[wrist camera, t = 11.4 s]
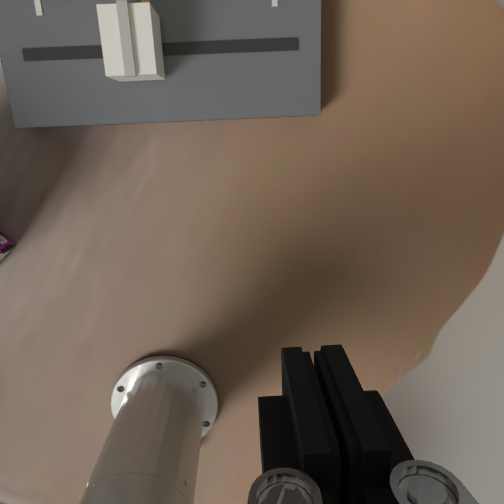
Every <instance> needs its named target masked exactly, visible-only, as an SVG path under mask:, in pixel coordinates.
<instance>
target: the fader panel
mask: <svg viewBox="0 0 504 504" xmlns="http://www.w3.org/2000/svg"><path fill="white" fill-rule="evenodd" d="M127 1H128V2H129V3H144V2H150V4H151V5H152V7H153V8H154V9H155V11H156V12H157V14H158V15H159V19H160V30H161V40H162V51H163V61H164V72H165V80H145V81H121V82H120V81H117V80H114V79H112V78H109V77H107V76H106V75H105V67H104V60H103V52H102V45H101V37H100V30H99V22H98V15H97V7H96V4H116V0H0V57H1V62H2V67H3V72H4V77H5V82H6V87H7V92H8V97H9V102H10V107H11V112H12V117H13V122H14V127H15V128H44V127H67V126H89V125H112V124H135V123H158V122H181V121H204V120H227V119H250V118H273V117H296V116H316V115H320V112H321V0H127Z"/></svg>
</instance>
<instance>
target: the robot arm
mask: <svg viewBox="0 0 504 504" xmlns="http://www.w3.org/2000/svg"><path fill="white" fill-rule="evenodd" d="M281 359H282V396H266V397H258V407H259V429H260V447H261V462H262V475H260V476H259V477H257V479H256V480H255V481H254V483H253V484H252V486H251V489H250V492H249V496H248V502H247V504H479V503H478V502H477V501H476V500H475V498H474V497H473V496H472V495H471V493H470V492H469V491H468V490H467V489H466V487H465V486H464V485H463V484H462V482H461V481H460V480H459V479H458V478H457V477H456V476H454V474H452V473H451V472H450V471H448V470H447V469H445V468H443V467H442V466H440V465H437V464H434V463H432V462H429V461H423V460H414V458H413V456H412V454H411V452H410V450H409V448H408V446H407V444H406V443H405V441H404V439H403V437H402V435H401V433H400V432H399V429H398V428H397V426H396V424H395V422H394V420H393V418H392V416H391V414H390V413H389V411H388V409H387V407H386V405H385V403H384V401H383V399H382V397H381V396H380V394H379V393H378V391H376V390H373V391H363V389H362V387H361V385H360V382H359V380H358V378H357V376H356V374H355V372H354V370H353V368H352V366H351V364H350V361H349V359H348V357H347V355H346V353H345V351H344V349H343V347H342V345H325V346H321V349H320V351H315V352H314V365H313V362H312V359H311V356H310V353H309V352H303V351H302V348H301V347H288V348H282V349H281ZM217 410H218V396H217V392H216V389H215V386H214V384H213V382H212V380H211V379H210V377H209V376H208V375H207V374H206V373H205V372H204V371H203V370H202V369H201V368H199V367H198V366H197V365H195V364H193V363H191V362H190V361H188V360H185V359H182V358H179V357H173V356H154V357H149V358H145V359H143V360H140V361H138V362H136V363H134V364H133V365H131V366H129V367H128V368H127V369H126V370H125V371H124V372H123V373H122V374H121V376H120V377H119V378H118V380H117V382H116V384H115V386H114V388H113V391H112V395H111V411H112V415H113V417H114V423H113V425H112V427H111V430H110V432H109V435H108V437H107V439H106V442H105V444H104V446H103V449H102V451H101V453H100V456H99V458H98V461H97V463H96V465H95V468H94V470H93V472H92V475H91V477H90V480H89V482H88V484H87V487H86V489H85V491H84V494H83V496H82V498H81V501H80V503H79V504H193V502H194V494H195V485H196V477H197V468H198V460H199V452H200V443H201V438H202V437H203V436H205V435H206V434H207V432H208V431H209V430H210V429H211V427H212V425H213V423H214V421H215V419H216V415H217Z"/></svg>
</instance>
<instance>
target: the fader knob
mask: <svg viewBox="0 0 504 504" xmlns="http://www.w3.org/2000/svg"><path fill="white" fill-rule="evenodd" d="M96 7H97V15H98V22H99V30H100V37H101V45H102V52H103V60H104V67H105V75H106V76H107V77H109V78H112V79H114V80H117V81H120V82H121V81H145V80H165V72H164V61H163V51H162V40H161V30H160V19H159V15H158V14H157V12H156V11H155V9H154V8H153V7H152V5H151V4H150V2H144V3H129V2H128V1H127V0H116V4H96Z"/></svg>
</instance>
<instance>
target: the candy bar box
mask: <svg viewBox="0 0 504 504" xmlns="http://www.w3.org/2000/svg"><path fill="white" fill-rule="evenodd" d="M14 246H15V244H14V243H13V242H12V241H11V240H9V239H8V238H7V237H6V236H4V235H3V234H2V233H1V232H0V261H1V260H2V259H3V258H4V257H5V256H6V255H7V254H8V253H9V252H10V251H11V250H12V249H13V247H14Z"/></svg>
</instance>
